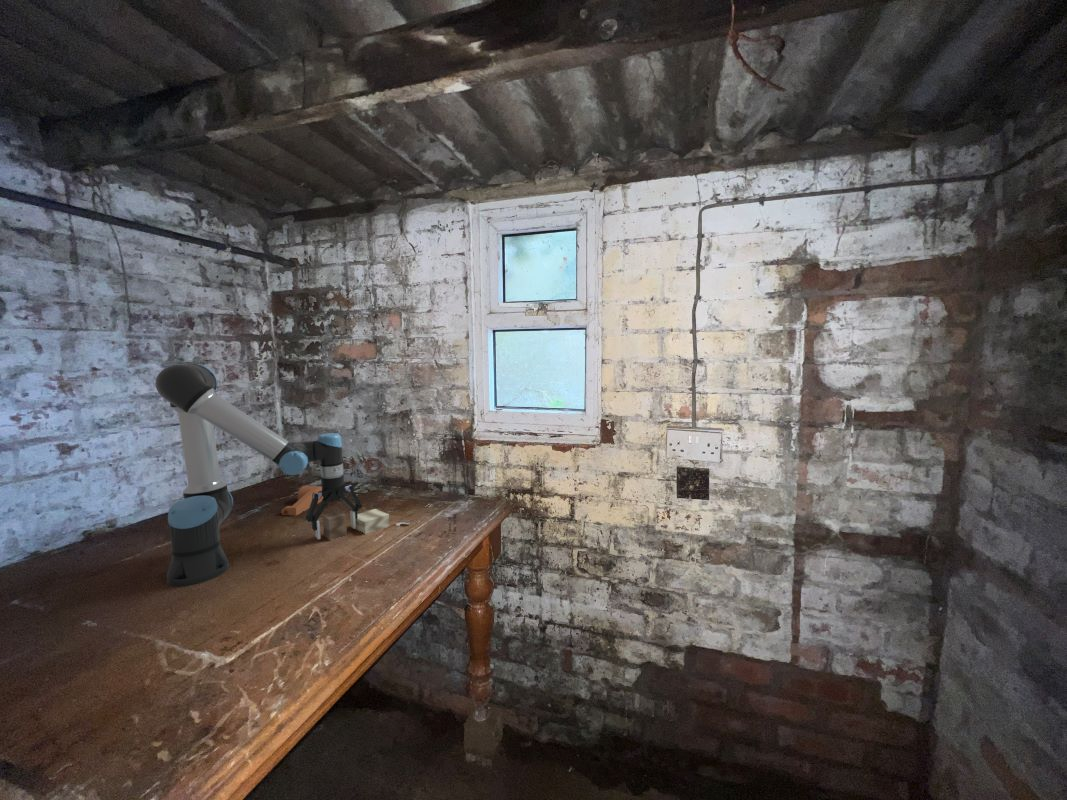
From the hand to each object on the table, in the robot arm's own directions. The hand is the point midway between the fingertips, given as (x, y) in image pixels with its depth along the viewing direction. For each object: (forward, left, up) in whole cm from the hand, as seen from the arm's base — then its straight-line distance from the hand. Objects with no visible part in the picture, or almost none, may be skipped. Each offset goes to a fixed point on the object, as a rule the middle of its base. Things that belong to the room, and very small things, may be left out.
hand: (336, 532), depth 159 cm
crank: (+1, +41, -2) cm, 41 cm away
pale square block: (+13, -1, -2) cm, 13 cm away
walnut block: (0, 0, -1) cm, 1 cm away
